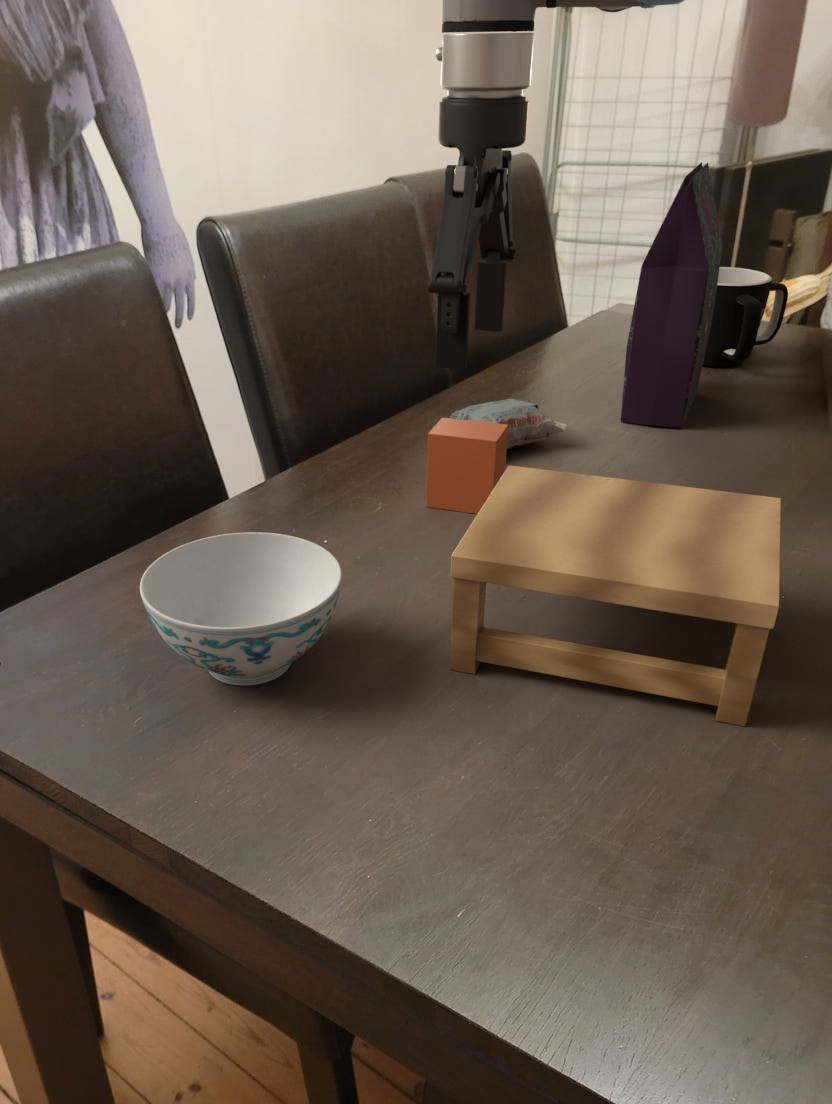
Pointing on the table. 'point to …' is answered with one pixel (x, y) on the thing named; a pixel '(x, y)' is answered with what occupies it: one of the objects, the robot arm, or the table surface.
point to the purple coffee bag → (674, 309)
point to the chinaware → (242, 602)
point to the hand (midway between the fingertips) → (470, 347)
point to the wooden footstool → (623, 576)
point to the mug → (742, 315)
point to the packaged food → (514, 420)
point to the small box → (464, 463)
